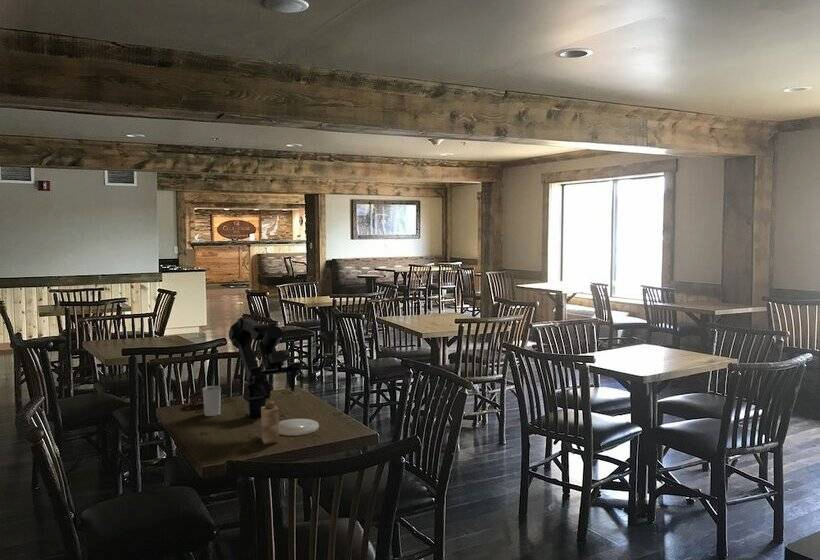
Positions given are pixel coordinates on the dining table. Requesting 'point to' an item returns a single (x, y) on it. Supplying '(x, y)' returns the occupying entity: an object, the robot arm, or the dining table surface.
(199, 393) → the pottery mug
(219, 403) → the drinking glass
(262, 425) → the pepper mill
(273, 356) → the robot arm
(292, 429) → the cream plate
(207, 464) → the dining table surface
